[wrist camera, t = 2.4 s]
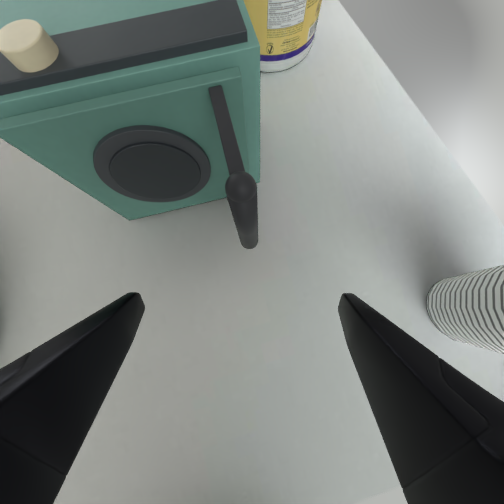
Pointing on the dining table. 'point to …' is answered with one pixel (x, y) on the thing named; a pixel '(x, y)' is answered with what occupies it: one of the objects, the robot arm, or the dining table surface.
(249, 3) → the supplement tub
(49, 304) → the dining table surface
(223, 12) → the washer
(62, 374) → the robot arm
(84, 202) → the dining table surface
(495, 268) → the cup
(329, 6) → the dining table surface
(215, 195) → the washer door
